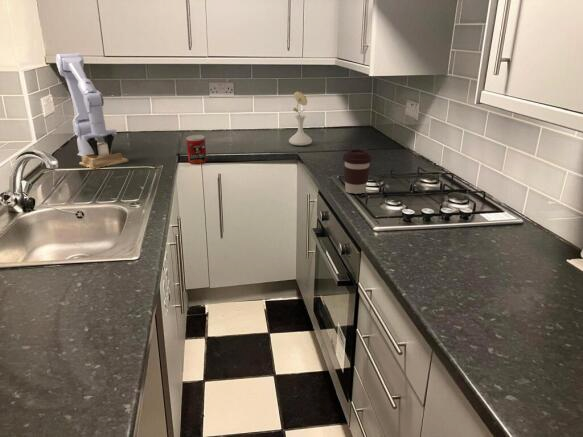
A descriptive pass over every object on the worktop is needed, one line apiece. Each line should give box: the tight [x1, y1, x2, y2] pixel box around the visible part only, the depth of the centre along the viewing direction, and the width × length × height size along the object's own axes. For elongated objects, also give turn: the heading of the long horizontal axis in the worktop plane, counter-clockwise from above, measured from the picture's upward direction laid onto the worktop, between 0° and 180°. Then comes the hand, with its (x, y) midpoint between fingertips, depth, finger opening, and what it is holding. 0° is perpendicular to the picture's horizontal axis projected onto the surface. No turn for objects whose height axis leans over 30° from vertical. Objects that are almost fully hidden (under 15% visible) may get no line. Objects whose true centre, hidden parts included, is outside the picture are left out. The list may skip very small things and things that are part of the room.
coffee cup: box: [342, 148, 373, 194], centre depth 166 cm, size 10×10×15 cm
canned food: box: [186, 134, 207, 166], centre depth 201 cm, size 8×8×11 cm
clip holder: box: [79, 149, 129, 171], centre depth 202 cm, size 12×16×4 cm
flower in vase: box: [288, 91, 313, 146], centre depth 225 cm, size 13×11×25 cm
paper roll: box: [97, 142, 109, 158], centre depth 200 cm, size 5×5×6 cm
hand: (102, 153), depth 201 cm, fingers closed on paper roll, 5 cm apart
